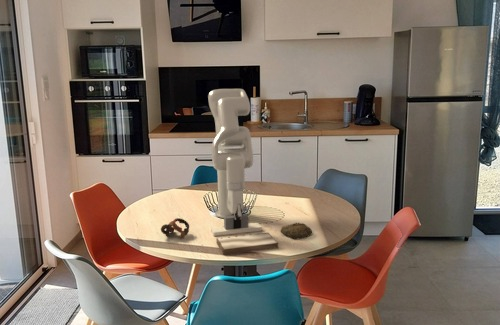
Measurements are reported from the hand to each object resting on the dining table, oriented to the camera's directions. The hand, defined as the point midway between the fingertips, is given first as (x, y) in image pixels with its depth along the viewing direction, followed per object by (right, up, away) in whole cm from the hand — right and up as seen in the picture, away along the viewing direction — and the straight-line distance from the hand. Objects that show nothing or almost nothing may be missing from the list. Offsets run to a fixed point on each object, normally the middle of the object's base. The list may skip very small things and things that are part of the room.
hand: (236, 226), depth 203 cm
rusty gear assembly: (-26, -4, -4) cm, 26 cm away
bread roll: (+26, -3, -2) cm, 26 cm away
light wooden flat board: (+5, -6, -15) cm, 17 cm away
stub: (0, -2, 0) cm, 2 cm away
